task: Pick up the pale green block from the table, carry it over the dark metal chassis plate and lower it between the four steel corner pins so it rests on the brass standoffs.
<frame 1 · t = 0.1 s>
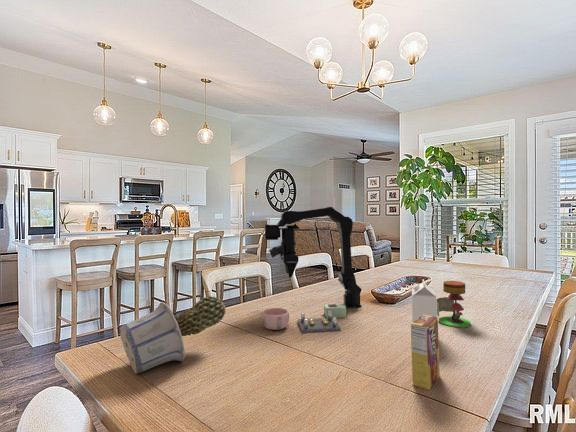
hand: (289, 275, 145), 15 cm above the table, fingers open, 9 cm apart
milk carton: (424, 339, 110), on the table
candy box: (425, 381, 83), on the table
potted plant: (178, 359, 98), on the table
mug: (275, 327, 123), on the table
brown and green pedestal: (454, 322, 124), on the table
chassis: (318, 325, 123), on the table
pale green block: (334, 315, 135), on the table
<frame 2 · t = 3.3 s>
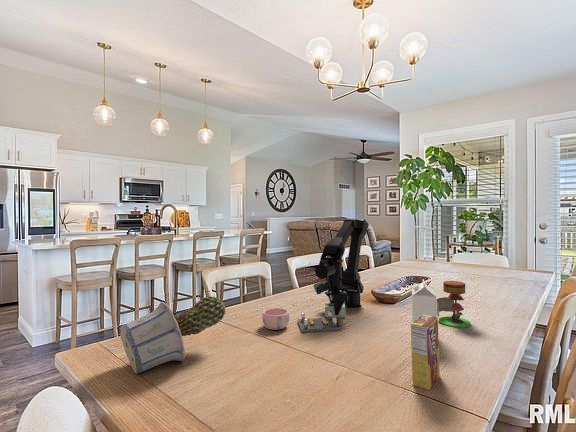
hand: (334, 312, 135), 1 cm above the table, fingers closed on pale green block, 5 cm apart
pale green block: (335, 315, 135), on the table, touching gripper
everything else where it was.
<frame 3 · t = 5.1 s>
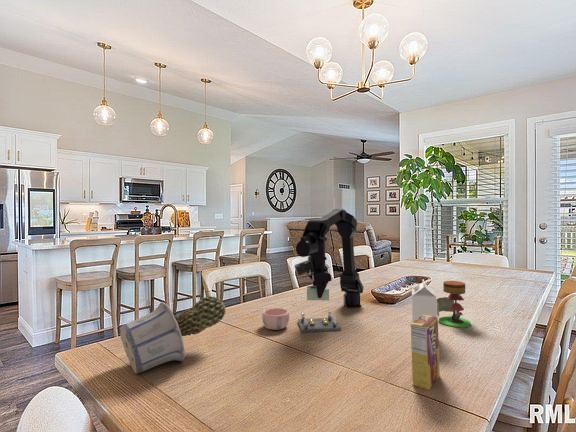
hand: (318, 295, 123), 11 cm above the table, fingers closed on pale green block, 5 cm apart
pale green block: (318, 298, 123), point 10 cm above the table, touching gripper
everything else where it was.
when the fingers open (4 cm above the table, at t = 7.1 s): pale green block drops 1 cm, resting on chassis.
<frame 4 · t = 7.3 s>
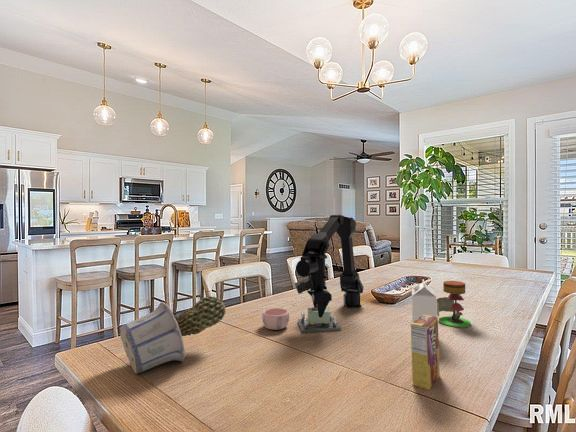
hand: (318, 313, 123), 4 cm above the table, fingers open, 8 cm apart
pale green block: (318, 320, 123), point 2 cm above the table, touching chassis
everything else where it was.
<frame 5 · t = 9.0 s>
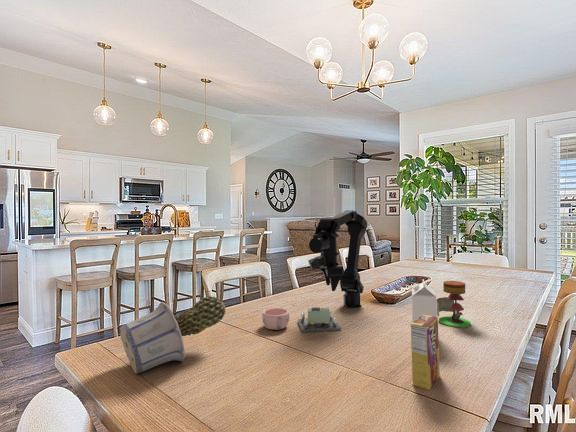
hand: (330, 288, 133), 12 cm above the table, fingers open, 9 cm apart
nothing on the table moved.
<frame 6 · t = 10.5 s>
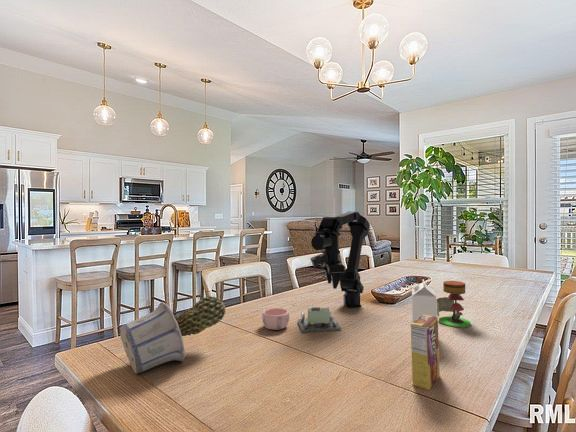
hand: (332, 285, 135), 12 cm above the table, fingers open, 9 cm apart
nothing on the table moved.
at the end: pale green block 0.1 cm off-centre on the chassis, point 2.0 cm above the chassis's base; pale green block tilted 0°; the gripper is holding nothing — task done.
